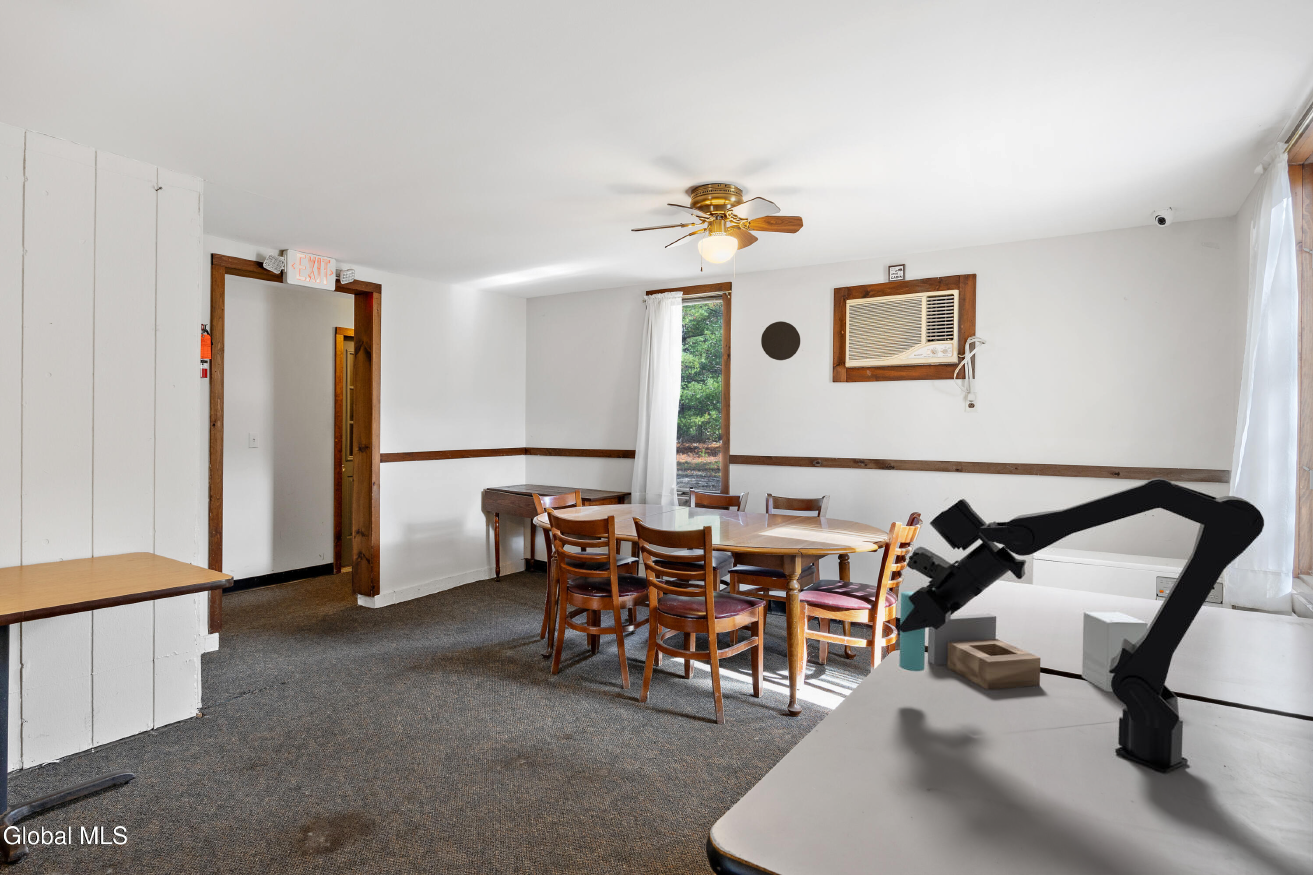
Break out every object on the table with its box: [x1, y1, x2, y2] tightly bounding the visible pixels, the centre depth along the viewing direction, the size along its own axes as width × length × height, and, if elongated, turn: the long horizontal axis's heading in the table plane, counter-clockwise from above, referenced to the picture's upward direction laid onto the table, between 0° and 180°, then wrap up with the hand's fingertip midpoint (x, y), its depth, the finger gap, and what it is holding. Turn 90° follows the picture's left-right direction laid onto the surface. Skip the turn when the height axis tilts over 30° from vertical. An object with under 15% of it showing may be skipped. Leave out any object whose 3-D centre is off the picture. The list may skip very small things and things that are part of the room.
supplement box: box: [1081, 611, 1149, 693], centre depth 124 cm, size 7×7×13 cm
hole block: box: [946, 638, 1041, 691], centre depth 127 cm, size 11×11×5 cm
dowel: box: [898, 590, 926, 672], centre depth 116 cm, size 4×4×12 cm
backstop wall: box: [927, 613, 997, 666], centre depth 135 cm, size 2×14×9 cm, turn 104°
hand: (904, 627), depth 116 cm, fingers closed on dowel, 4 cm apart
